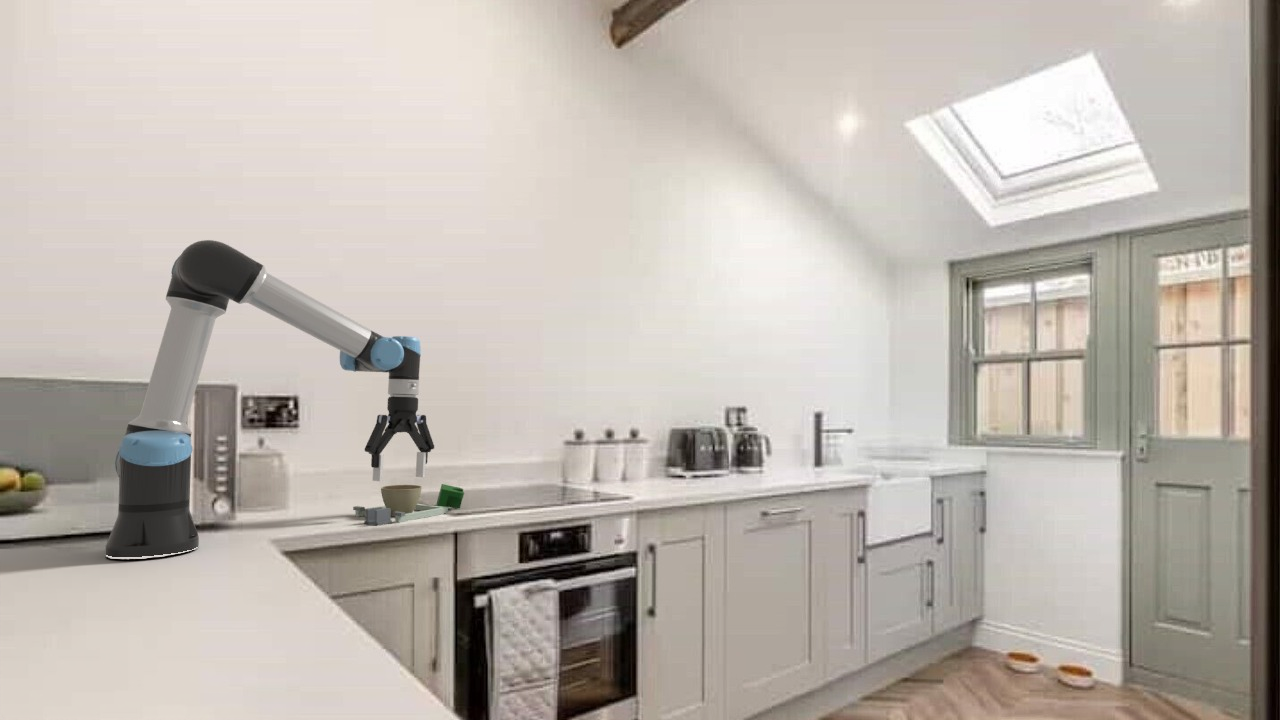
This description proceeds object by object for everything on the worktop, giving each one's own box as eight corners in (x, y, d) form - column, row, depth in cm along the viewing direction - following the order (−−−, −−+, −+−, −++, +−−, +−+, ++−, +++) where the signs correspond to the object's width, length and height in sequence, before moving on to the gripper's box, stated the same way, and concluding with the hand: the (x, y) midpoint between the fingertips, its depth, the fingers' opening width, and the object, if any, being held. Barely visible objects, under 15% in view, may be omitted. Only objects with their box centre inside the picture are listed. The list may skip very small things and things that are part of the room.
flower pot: (395, 519, 176) (395, 490, 177) (372, 515, 183) (373, 487, 183) (429, 514, 184) (429, 486, 185) (406, 510, 190) (406, 483, 191)
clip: (378, 525, 168) (378, 510, 169) (364, 523, 171) (364, 508, 171) (391, 523, 172) (392, 508, 172) (378, 521, 175) (378, 506, 175)
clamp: (455, 525, 192) (463, 497, 190) (433, 521, 191) (441, 492, 188) (458, 502, 204) (466, 475, 201) (437, 498, 202) (445, 470, 200)
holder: (401, 522, 172) (401, 513, 172) (353, 515, 182) (353, 506, 182) (450, 513, 186) (450, 504, 186) (403, 507, 195) (403, 499, 195)
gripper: (372, 395, 172) (367, 483, 171) (449, 397, 193) (446, 476, 192) (352, 394, 176) (347, 481, 175) (430, 397, 197) (427, 474, 196)
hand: (399, 479), depth 184 cm, fingers open, 13 cm apart
